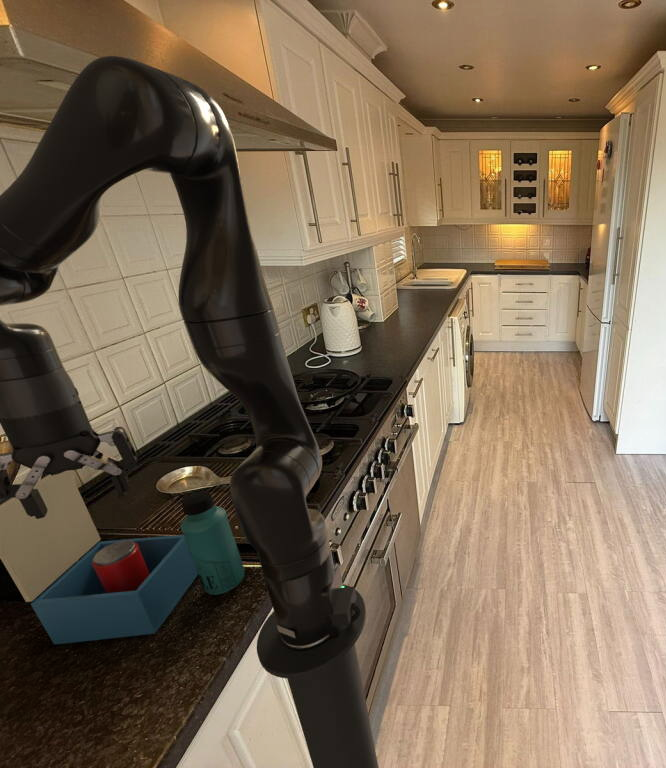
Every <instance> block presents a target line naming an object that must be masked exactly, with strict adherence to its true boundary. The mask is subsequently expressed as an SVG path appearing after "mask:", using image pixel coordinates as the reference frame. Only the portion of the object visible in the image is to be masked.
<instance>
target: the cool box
mask: <svg viewBox="0 0 666 768" xmlns="http://www.w3.org/2000/svg"><path fill="white" fill-rule="evenodd" d="M125 540H130V541H133V542H135V543H137V544H138V546H139V549H140V551H141V554H142V556H143V558H144V561H145V563H146V565H147V568H148V570H149V573H150V575H149V576H148V577H147V578H146V579H145V581H144V582H143V583H142V584H141V585H140V586H139V588H138V589H137V590H136V591H126V592H116V593H106V592H105V590H104V588H103V586H102V584H101V582H100V580H99V578H98V576H97V574H96V572H95V570H94V568H93V566H92V561H93V558H94V556H95V555H96V553H98V552H99V551H100V550H101V549H103V548H105V547H106V546H108V545H111V544H113V543H116V542H119V541H125ZM187 548H188V544H187V542H186V539H185V536H184V534H176V535H165V536H164V535H163V536H151V537H139V538H128V539H116V540H104V541H103V540H102V541H101V540H100V541H99V542H97V543H96V544H95V545H94V546H93V547H92V548H91V549H90V550H89V551H87V552H86V553H85V554H84V555H83V556H82V557H81V558H80V559H79V560H77V561H76V562H75V563H74V564H73V565H72V566H71V567H70V568H69V569H67V570H66V571H65V572H64V573H63V574H62V575H61V576H60V577H59V578H57V579H56V580H55V581H54V582H53V583H52V584H51V585H50V586H49V587H47V588H46V589H45V590H44V591H43V592H42V593H41V594H40V595H39V596H37V597H36V598H35V599H34V600H33V601H31V602H30V606H31V607H32V609H33V611H34V613H35V615H36V616H37V618H38V619H39V621H40V623H41V625H42V626H43V628H44V630H45V632H46V633H47V635H48V637H49V638H50V640H51V642H52V643H53V645H62V644H73V643H80V642H91V641H100V640H110V639H118V638H119V639H120V638H128V637H137V636H147V635H155V634H157V633H158V631H159V629H160V628H161V627H162V625H163V624H164V623H165V621H166V620H167V618H168V617H169V616H170V614H171V613H172V611H173V610H174V609H175V607H176V606H177V604H178V603H179V602H180V600H181V599H182V598H183V596H184V595H185V593H186V592H187V590H189V588H190V587H191V585H192V584H193V583H194V581H195V579H196V578H198V576H199V574H198V572H197V569H196V566H195V564H194V561H193V558H192V556H191V553H189V552H190V550H189V548H188V549H187ZM188 550H189V551H188ZM196 572H197V573H196Z"/></svg>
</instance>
